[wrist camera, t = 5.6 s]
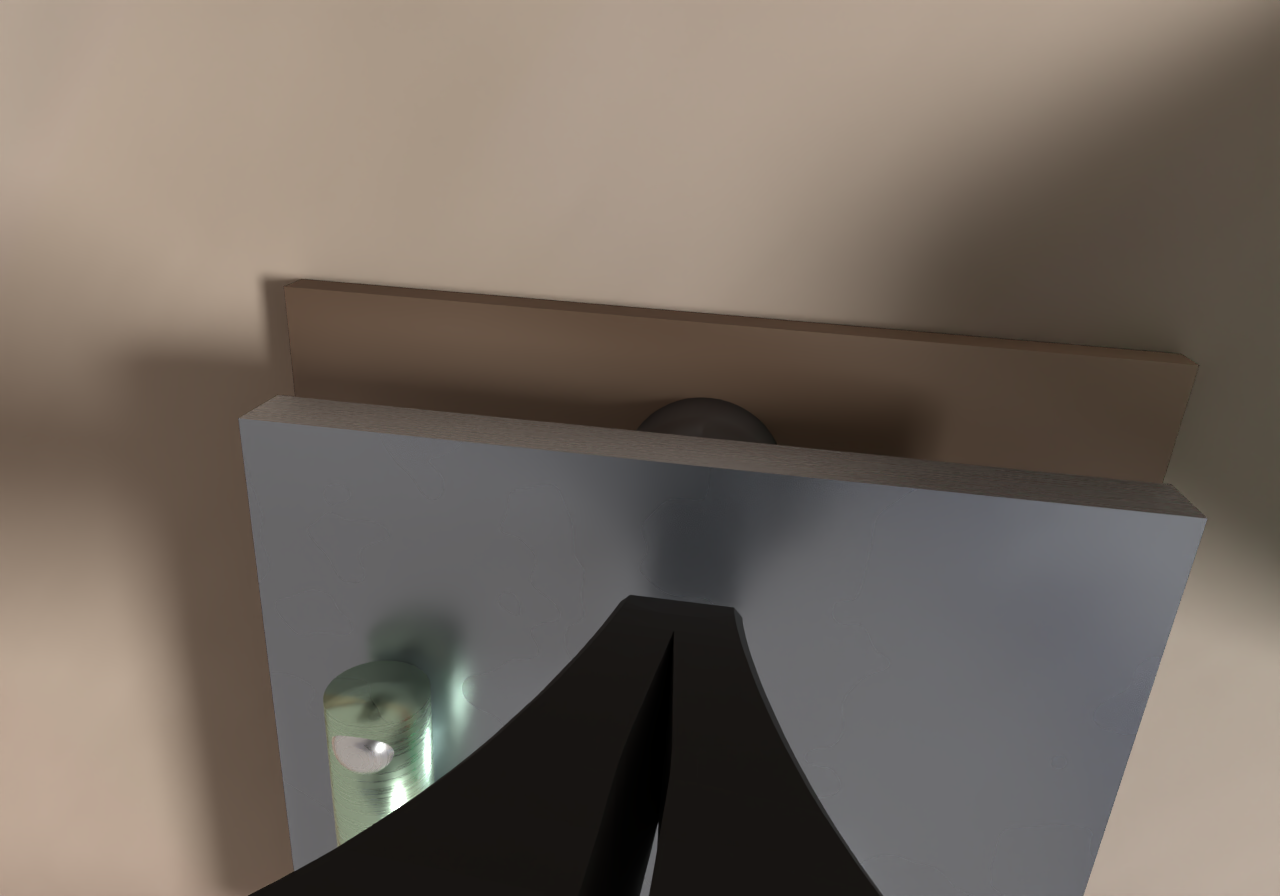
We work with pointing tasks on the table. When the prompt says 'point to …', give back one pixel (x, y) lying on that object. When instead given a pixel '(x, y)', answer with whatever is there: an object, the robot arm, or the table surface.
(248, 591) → the table surface
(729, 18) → the table surface
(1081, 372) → the stand base
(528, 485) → the level plate
